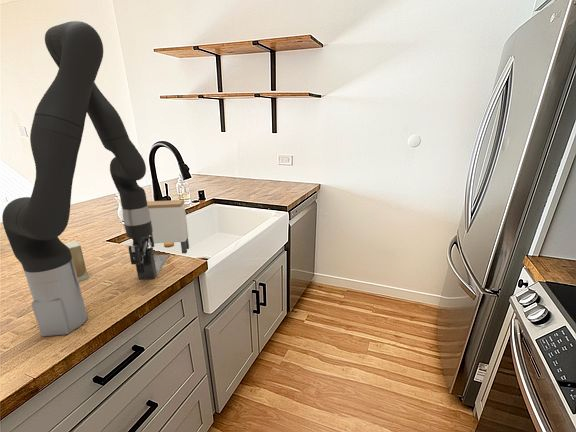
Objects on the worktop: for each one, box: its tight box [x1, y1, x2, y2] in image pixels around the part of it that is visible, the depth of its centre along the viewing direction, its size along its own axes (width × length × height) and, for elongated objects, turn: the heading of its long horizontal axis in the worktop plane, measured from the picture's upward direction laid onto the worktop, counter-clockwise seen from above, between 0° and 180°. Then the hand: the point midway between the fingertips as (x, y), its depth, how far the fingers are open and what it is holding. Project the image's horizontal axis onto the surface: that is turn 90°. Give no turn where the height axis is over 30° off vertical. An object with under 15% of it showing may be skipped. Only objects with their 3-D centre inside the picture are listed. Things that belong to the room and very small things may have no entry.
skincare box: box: [62, 239, 89, 283], centre depth 96 cm, size 6×4×12 cm
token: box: [163, 242, 175, 248], centre depth 123 cm, size 4×4×1 cm
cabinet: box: [147, 199, 190, 254], centre depth 114 cm, size 6×18×20 cm, turn 97°
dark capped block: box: [137, 248, 169, 281], centre depth 103 cm, size 16×5×10 cm, turn 7°
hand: (146, 267), depth 97 cm, fingers open, 8 cm apart
